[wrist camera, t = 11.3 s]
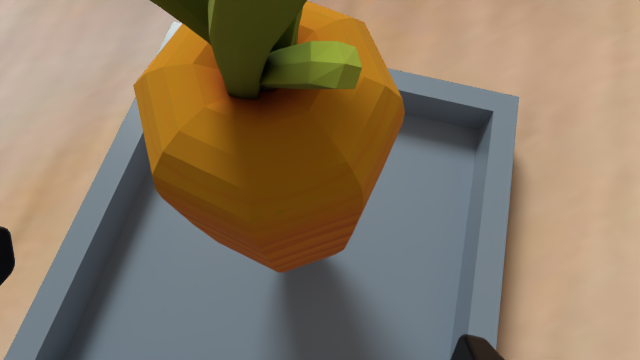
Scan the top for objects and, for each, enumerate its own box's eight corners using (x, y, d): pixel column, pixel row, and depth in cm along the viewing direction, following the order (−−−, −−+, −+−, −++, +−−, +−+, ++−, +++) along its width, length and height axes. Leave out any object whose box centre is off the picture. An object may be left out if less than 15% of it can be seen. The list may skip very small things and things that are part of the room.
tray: (451, 514, 14) (478, 548, 12) (35, 386, 15) (-14, 394, 13) (495, 125, 20) (518, 96, 18) (189, 56, 21) (173, 21, 19)
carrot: (245, 182, 18) (-11, -393, 4) (358, 188, 18) (501, -377, 4) (229, 298, 16) (-365, -13, 2) (355, 306, 16) (614, 33, 2)
